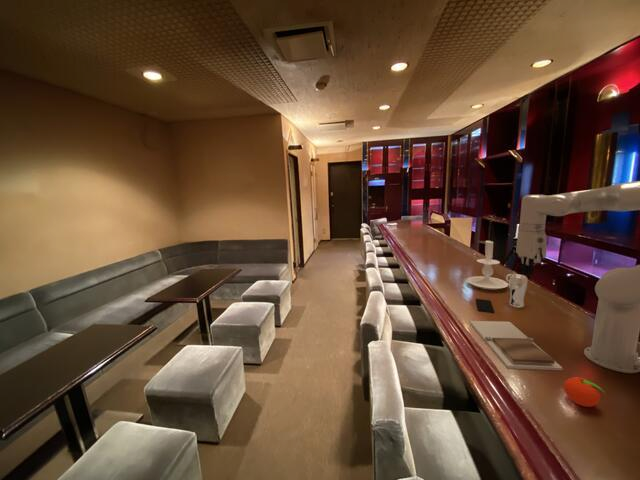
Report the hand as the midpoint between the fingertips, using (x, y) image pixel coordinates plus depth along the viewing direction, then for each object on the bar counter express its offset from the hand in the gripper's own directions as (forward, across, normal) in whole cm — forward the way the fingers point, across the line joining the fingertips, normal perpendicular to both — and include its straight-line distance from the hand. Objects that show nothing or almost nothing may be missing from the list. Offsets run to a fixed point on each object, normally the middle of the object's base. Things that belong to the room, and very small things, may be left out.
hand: (527, 274), depth 102 cm
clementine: (+24, -37, +8) cm, 45 cm away
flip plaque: (+22, -16, +10) cm, 29 cm away
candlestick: (+25, +49, -14) cm, 57 cm away
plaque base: (+24, -8, +10) cm, 28 cm away
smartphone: (+25, +24, +2) cm, 35 cm away
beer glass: (+25, +24, -13) cm, 37 cm away
